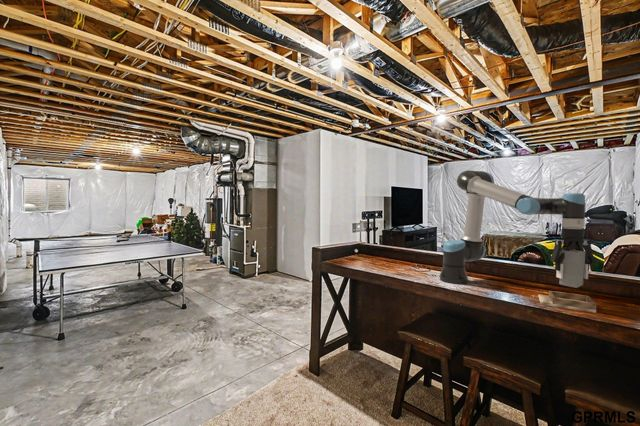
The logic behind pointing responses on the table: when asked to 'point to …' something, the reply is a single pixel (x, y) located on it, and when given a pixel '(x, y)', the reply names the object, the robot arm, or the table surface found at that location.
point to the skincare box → (573, 268)
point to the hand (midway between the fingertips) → (571, 278)
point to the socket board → (568, 301)
